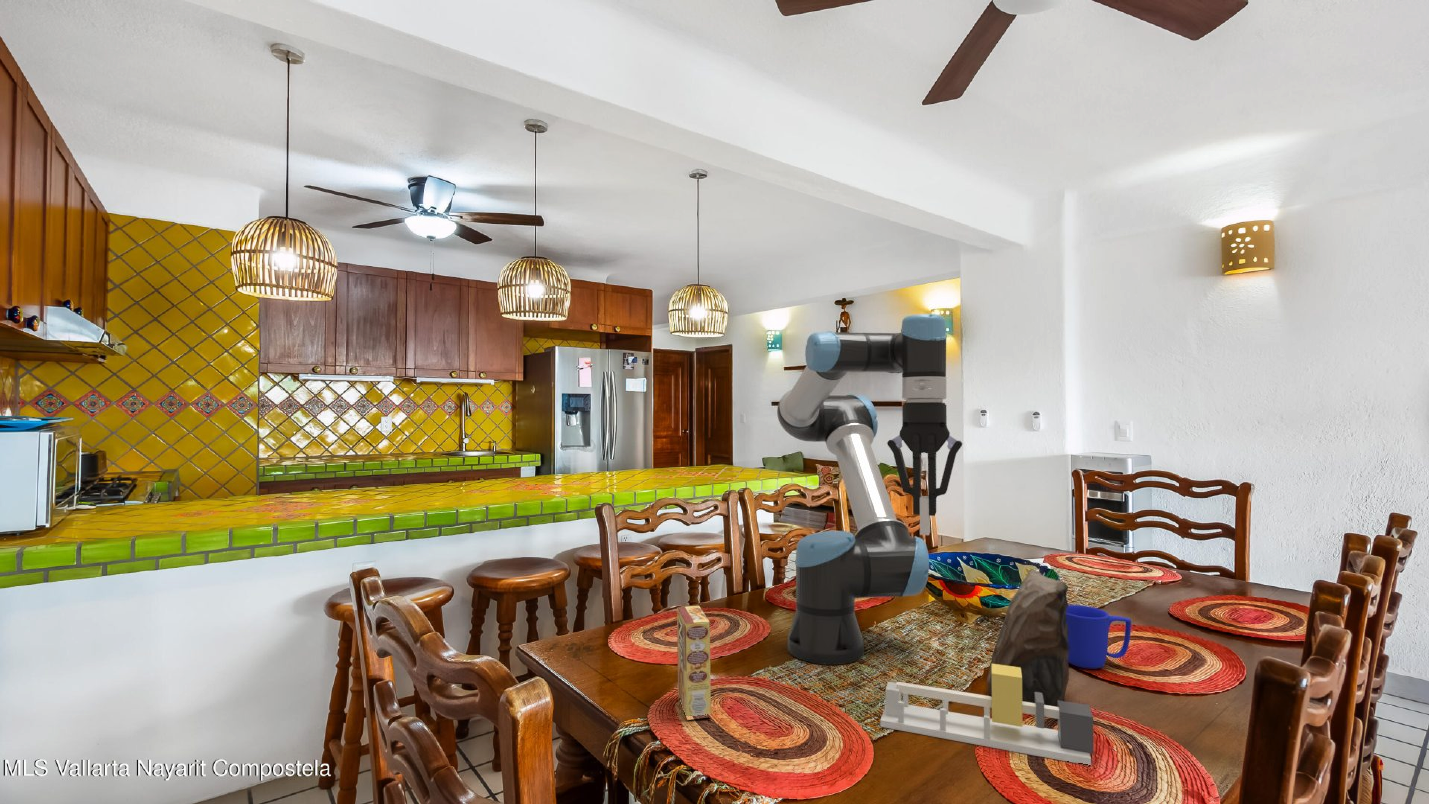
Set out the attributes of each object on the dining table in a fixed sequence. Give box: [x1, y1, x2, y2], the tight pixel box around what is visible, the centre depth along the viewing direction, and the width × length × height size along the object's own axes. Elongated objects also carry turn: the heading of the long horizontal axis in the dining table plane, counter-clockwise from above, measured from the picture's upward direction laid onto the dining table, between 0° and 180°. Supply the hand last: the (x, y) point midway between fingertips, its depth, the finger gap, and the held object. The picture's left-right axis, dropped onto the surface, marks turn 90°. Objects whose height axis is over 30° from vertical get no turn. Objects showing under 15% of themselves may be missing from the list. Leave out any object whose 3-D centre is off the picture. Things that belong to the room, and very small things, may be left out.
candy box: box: [676, 605, 712, 716], centre depth 105 cm, size 9×4×15 cm, turn 13°
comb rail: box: [879, 681, 1094, 766], centre depth 96 cm, size 28×7×7 cm, turn 67°
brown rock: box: [986, 569, 1070, 707], centre depth 109 cm, size 13×13×20 cm
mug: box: [1066, 604, 1132, 670], centre depth 122 cm, size 8×12×10 cm
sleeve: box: [991, 664, 1023, 727], centre depth 94 cm, size 4×4×7 cm
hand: (925, 533), depth 114 cm, fingers closed
